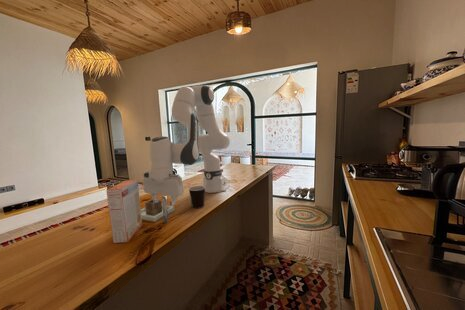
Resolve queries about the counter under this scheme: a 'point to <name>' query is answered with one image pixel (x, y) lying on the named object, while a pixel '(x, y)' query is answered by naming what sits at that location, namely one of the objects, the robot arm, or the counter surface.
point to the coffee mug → (197, 196)
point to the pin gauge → (165, 209)
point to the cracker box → (124, 210)
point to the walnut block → (153, 207)
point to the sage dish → (156, 217)
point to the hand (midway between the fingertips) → (164, 203)
